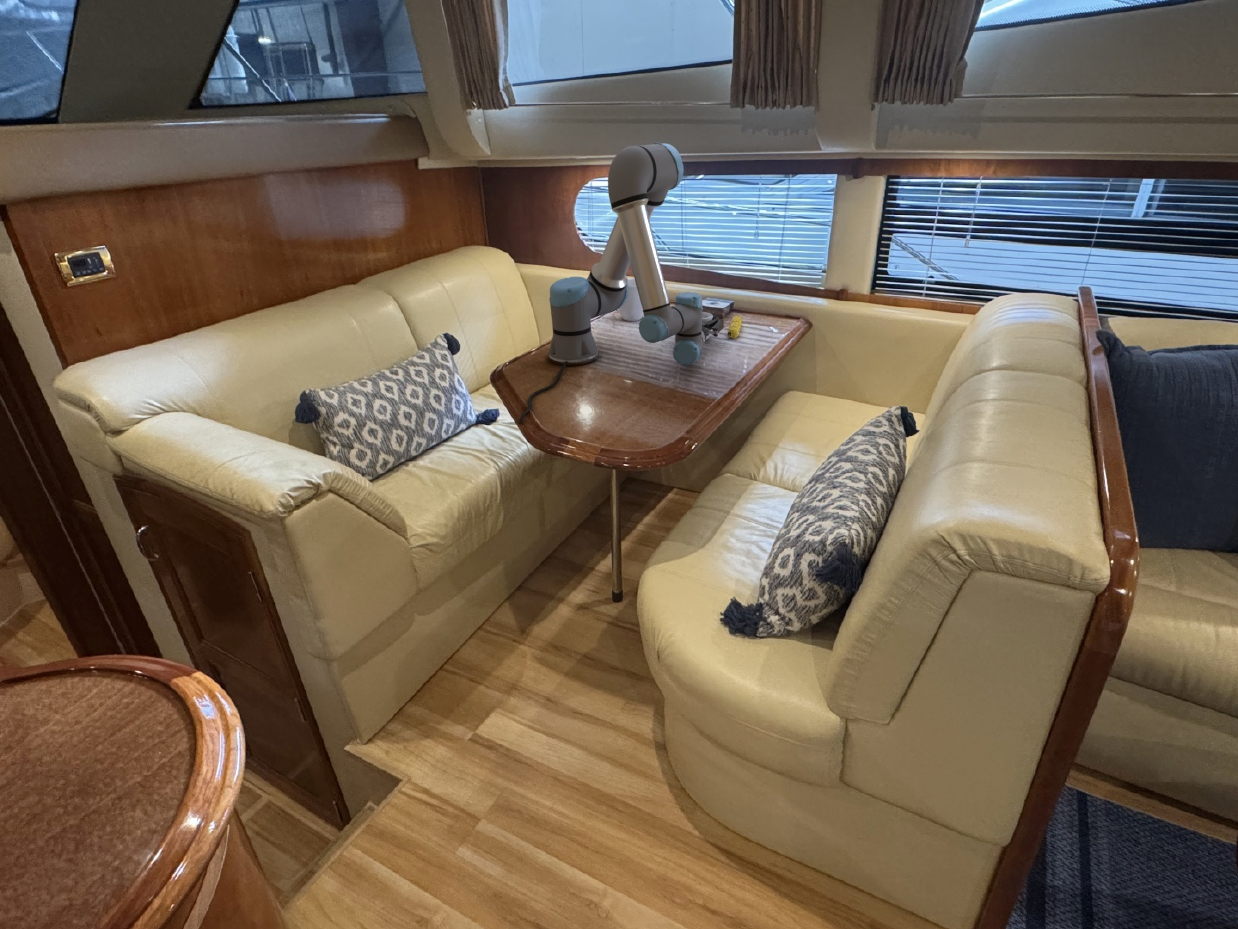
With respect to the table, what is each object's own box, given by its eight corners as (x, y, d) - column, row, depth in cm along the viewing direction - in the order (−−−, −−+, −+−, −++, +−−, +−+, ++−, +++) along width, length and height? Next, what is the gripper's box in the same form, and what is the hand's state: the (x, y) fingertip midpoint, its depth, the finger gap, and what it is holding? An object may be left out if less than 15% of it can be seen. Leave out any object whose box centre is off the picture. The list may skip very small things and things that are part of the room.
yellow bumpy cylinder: (738, 339, 214) (738, 329, 212) (726, 339, 215) (727, 328, 213) (742, 324, 228) (742, 314, 227) (731, 324, 229) (732, 313, 227)
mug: (602, 319, 239) (600, 283, 232) (616, 311, 247) (615, 276, 241) (639, 324, 233) (638, 286, 226) (652, 315, 241) (652, 279, 235)
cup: (696, 332, 223) (698, 308, 219) (718, 335, 219) (720, 311, 216) (682, 340, 215) (683, 316, 211) (705, 344, 211) (706, 319, 207)
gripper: (658, 348, 203) (671, 325, 222) (727, 351, 199) (733, 328, 218) (658, 324, 200) (671, 303, 219) (728, 326, 195) (735, 305, 214)
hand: (702, 315), depth 218 cm, fingers closed on cup, 8 cm apart
